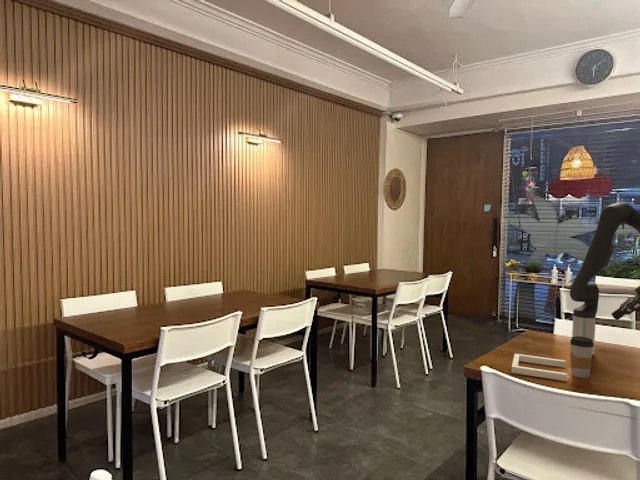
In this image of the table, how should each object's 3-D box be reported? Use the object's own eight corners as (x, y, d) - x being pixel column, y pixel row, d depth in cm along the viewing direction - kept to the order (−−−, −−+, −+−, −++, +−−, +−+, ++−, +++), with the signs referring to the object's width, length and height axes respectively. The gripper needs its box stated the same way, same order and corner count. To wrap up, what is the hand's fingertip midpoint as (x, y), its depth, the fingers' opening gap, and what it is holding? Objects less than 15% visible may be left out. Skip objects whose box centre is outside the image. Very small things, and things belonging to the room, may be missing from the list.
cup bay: (514, 359, 205) (514, 353, 205) (565, 366, 196) (565, 360, 196) (511, 372, 187) (511, 366, 187) (567, 381, 178) (567, 374, 178)
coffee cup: (595, 380, 180) (597, 342, 179) (572, 378, 182) (574, 340, 181) (587, 372, 188) (589, 336, 188) (565, 371, 190) (567, 335, 189)
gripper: (641, 280, 185) (604, 306, 191) (648, 284, 172) (608, 313, 178) (656, 294, 183) (618, 321, 189) (664, 300, 170) (624, 328, 176)
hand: (614, 317), depth 183 cm, fingers open, 3 cm apart
